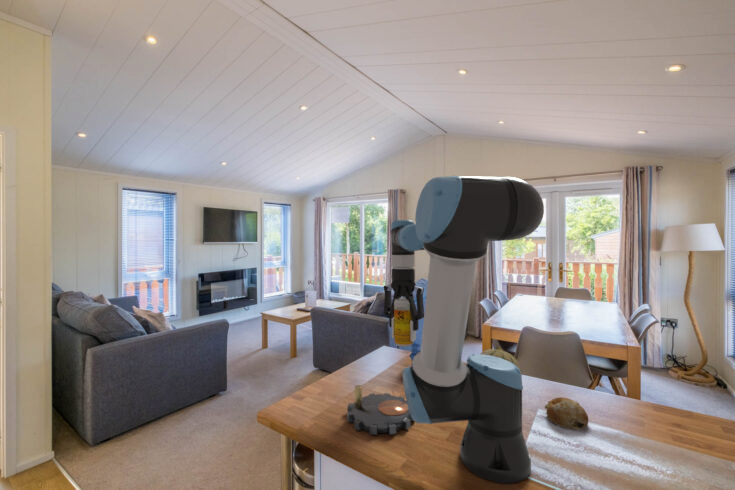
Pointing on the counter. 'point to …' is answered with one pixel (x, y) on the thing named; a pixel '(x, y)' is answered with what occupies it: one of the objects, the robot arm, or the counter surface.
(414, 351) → the grapes
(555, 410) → the bread roll
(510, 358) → the cantaloupe
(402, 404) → the sprocket
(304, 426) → the counter surface
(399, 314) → the beer can
